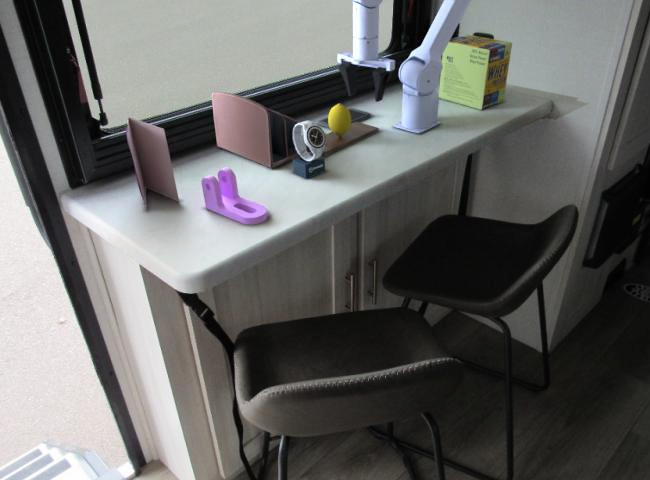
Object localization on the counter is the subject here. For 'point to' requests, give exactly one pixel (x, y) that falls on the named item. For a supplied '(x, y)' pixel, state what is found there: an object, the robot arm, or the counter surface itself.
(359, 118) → the cell phone
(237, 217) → the bracket
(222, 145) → the letter holder
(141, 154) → the greeting card
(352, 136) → the back board
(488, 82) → the protein box
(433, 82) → the robot arm
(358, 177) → the counter surface
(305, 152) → the watch
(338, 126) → the lemon
